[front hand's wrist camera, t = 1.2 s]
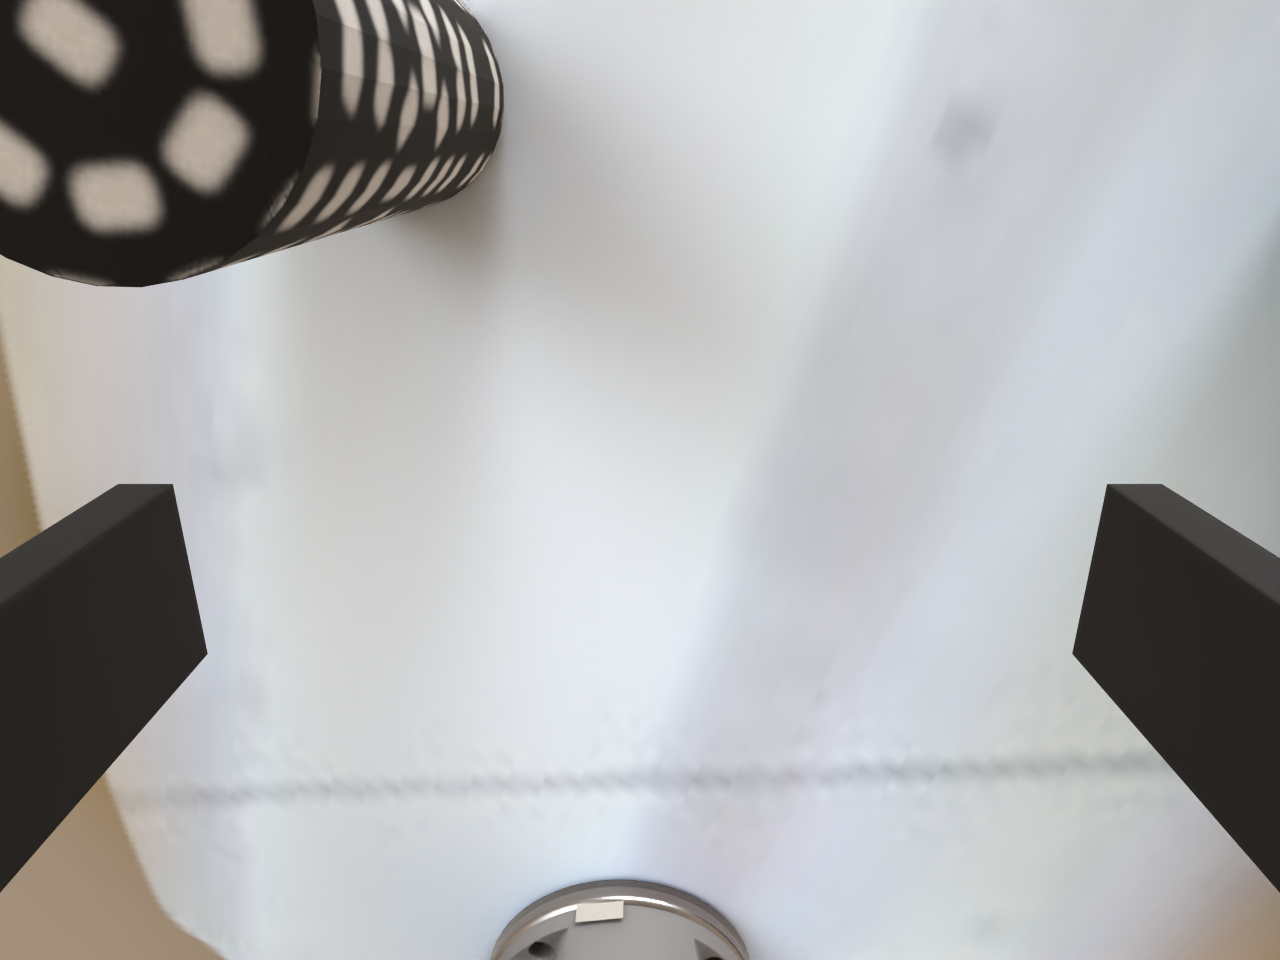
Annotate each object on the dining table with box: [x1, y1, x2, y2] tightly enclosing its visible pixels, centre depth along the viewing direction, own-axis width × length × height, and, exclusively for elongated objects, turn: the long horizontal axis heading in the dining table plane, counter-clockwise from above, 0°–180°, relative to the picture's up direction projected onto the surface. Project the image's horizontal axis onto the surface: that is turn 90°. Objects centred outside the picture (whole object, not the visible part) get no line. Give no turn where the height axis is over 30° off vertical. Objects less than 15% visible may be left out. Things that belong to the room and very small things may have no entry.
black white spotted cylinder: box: [0, 0, 504, 287], centre depth 24 cm, size 8×8×20 cm
